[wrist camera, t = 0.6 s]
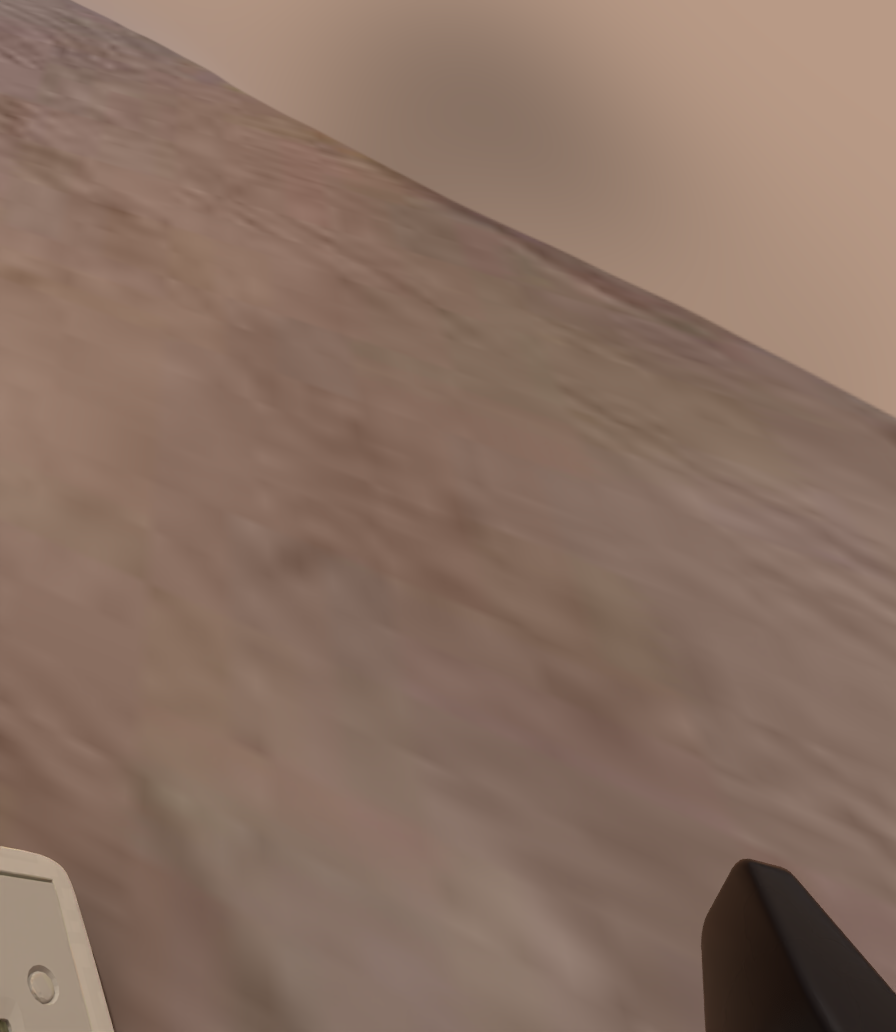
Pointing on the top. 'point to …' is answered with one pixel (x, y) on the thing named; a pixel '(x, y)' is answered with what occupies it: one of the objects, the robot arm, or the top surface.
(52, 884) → the digital clock
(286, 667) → the top surface
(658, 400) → the top surface
